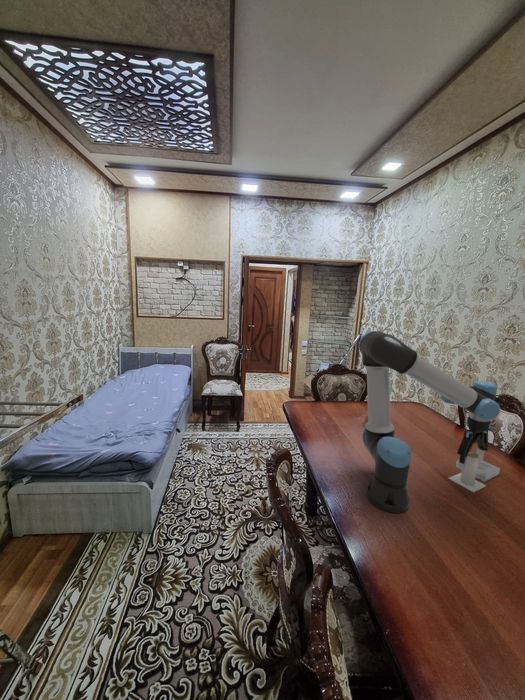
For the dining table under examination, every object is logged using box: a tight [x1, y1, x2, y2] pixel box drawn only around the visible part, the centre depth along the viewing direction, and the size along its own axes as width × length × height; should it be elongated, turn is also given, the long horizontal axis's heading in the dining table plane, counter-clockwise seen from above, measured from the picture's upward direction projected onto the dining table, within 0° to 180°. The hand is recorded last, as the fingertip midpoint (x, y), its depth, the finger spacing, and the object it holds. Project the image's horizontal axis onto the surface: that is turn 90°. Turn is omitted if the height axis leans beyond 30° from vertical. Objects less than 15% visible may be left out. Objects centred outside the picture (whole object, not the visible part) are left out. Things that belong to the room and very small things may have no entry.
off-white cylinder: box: [460, 451, 479, 486], centre depth 121 cm, size 5×5×13 cm
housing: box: [455, 459, 501, 482], centre depth 131 cm, size 12×12×4 cm
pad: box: [447, 472, 487, 493], centre depth 122 cm, size 10×10×1 cm
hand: (469, 466), depth 121 cm, fingers open, 12 cm apart
